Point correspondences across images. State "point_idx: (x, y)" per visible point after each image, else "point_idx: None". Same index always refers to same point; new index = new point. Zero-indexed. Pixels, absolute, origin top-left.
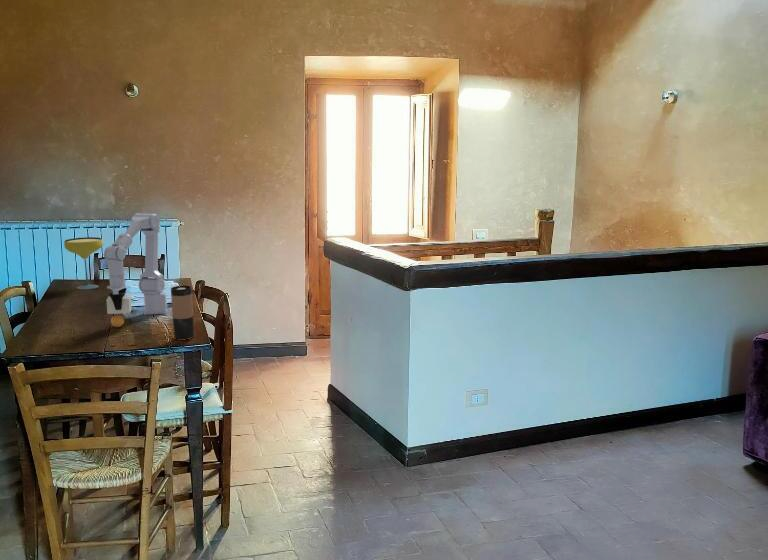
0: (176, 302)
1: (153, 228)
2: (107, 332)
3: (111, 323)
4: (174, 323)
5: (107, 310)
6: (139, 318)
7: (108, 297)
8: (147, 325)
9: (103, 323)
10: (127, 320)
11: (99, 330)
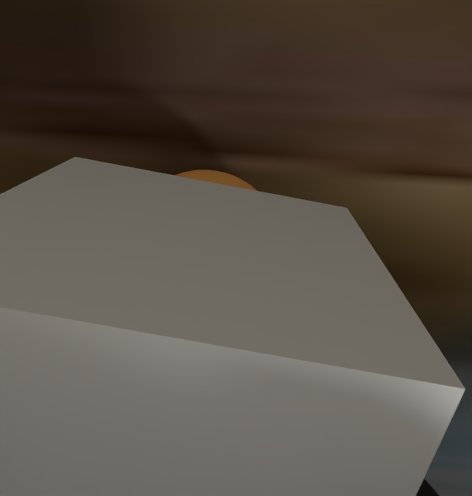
0: None
1: None
2: (8, 102)
3: (188, 171)
4: None
5: (44, 176)
6: (452, 427)
7: (237, 372)
8: None
9: (466, 76)
10: (442, 329)
11: (132, 10)
